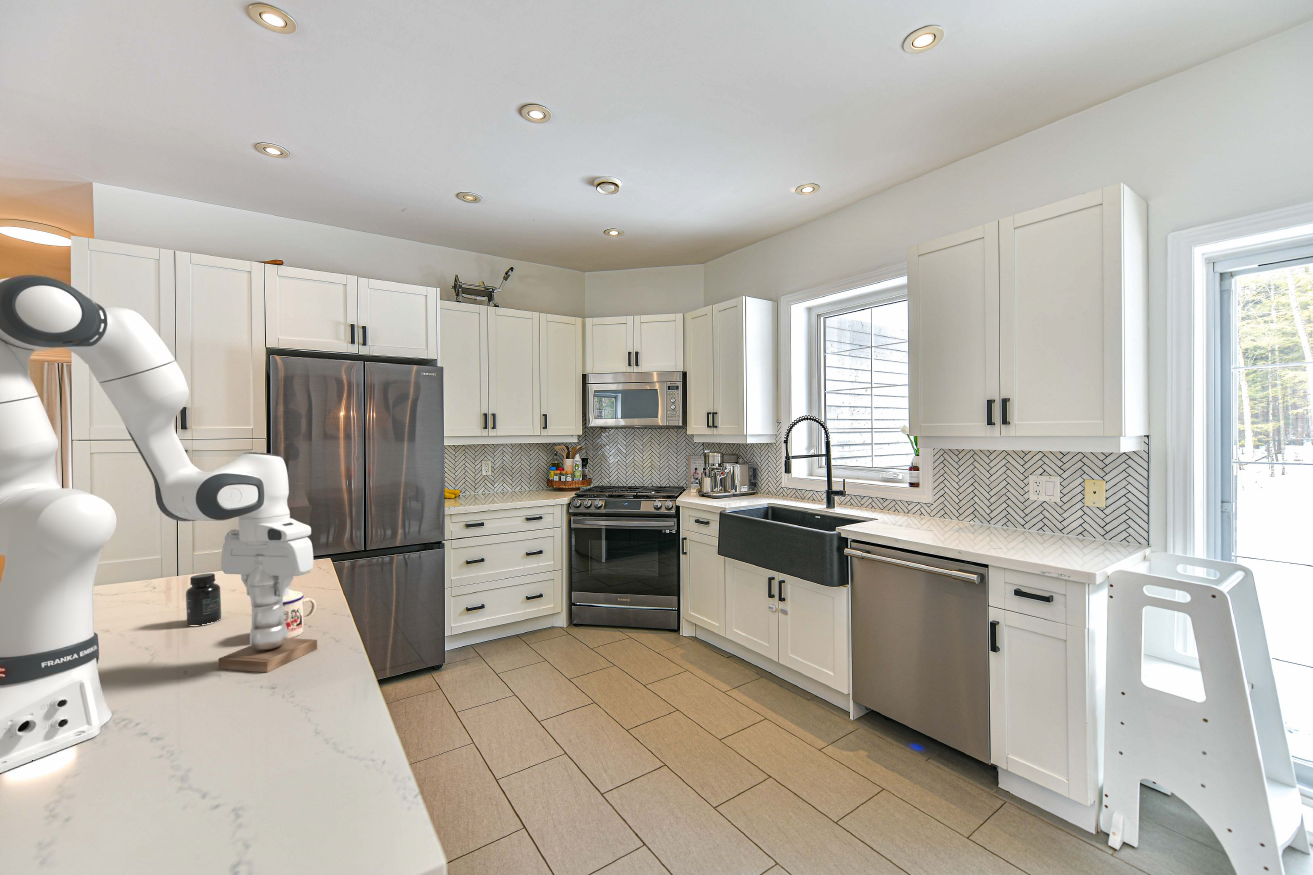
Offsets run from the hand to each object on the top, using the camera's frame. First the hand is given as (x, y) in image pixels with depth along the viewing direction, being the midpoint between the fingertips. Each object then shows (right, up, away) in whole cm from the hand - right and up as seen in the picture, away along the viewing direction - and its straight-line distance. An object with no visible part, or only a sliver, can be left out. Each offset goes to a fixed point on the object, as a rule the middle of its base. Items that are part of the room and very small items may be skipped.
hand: (268, 595), depth 117 cm
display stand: (0, -13, 0) cm, 13 cm away
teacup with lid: (-5, -13, +15) cm, 21 cm away
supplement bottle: (-34, -14, +25) cm, 45 cm away
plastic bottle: (0, -11, 0) cm, 11 cm away
